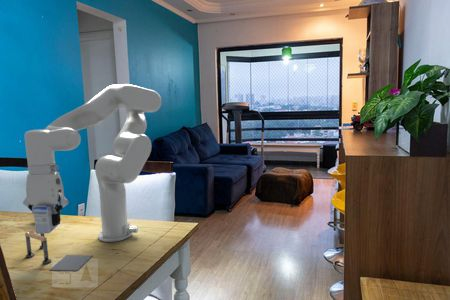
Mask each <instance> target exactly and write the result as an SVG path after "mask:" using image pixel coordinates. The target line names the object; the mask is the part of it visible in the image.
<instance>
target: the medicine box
mask: <svg viewBox="0 0 450 300" xmlns="http://www.w3.org/2000/svg"><path fill="white" fill-rule="evenodd" d="M55 207H56V206H55ZM33 212H34V215H33V219H34V228H35V230H36V232H35V234H37V235H40V234H43V233H44V234H50V233H52V232H53V230H56V228H57V227H58V226H59V225H60V224H61V222H60V223H59V224H58V225H56V226H53V225H52V214H53V212H52V209H51V206H50V205H36V206H35V207H34V208H33Z"/></svg>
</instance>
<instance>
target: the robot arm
mask: <svg viewBox="0 0 450 300" xmlns="http://www.w3.org/2000/svg"><path fill="white" fill-rule="evenodd" d="M161 106H162V97H161V95H160V94H159V93H158V92H157V91H156V90H153V89H150V88H146V87H141V86H138V85H133V84H130V83H123V84H119V83H118V84H111V85H109V86H107V87H106V88H104V89H103V90H101V91H100V92H99V93H98V94H96V95H95V96H94V97H92V98H91V99H90V100H88V101H87V102H86V103H84V104H82V105H81V106H78V107H76V108H75V109H73V110H71V111H69V112H67V113H65V114H63V115H61V116H59V117H58V118H56V119H55V120H53V121H52V122H51V123H50V124H48V125H47V126H46V127H44V129H32V130H31V129H30V130H28V131H26V132H25V133H24V143H25V152H26V160H27V161H26V162H27V171H28V173H27V175H26V182H25V186H26V189H25V191H26V197H25V198H24V200H23V201H22V204H23V205H24V206H25V207H27V208H28V209H29V211H31V213H32V215H33V214H34V212H33V208H34V207H35V206H36V205H50V206H51V209H52V212H53V214H52V225H53V226H56V225H58V224H59V223H60V224H61V211H62V210H63V209H64V208H65V207H66V206H68V204H70V203H69V200H68V199H67V197H65V193H64V191H65V190H64V186H63V181H62V178H61V175H60V172H59V171H57V170H59V169H60V165H57V163H56V160H55V159H56V157H55V152H56V151H57V152H58V151H62V152H63V151H64V152H66V151H72V150H74V149H77V148H78V147H79V145H80V144H81V139H82V138H81V135H80V133H79V131H81V130H83V129H88V128H92V127H95V126H97V125H100V124H102V123H103V122H105V121H106V120H107V119H108V118H109V117H111V116H112V115H113V114H115V112H117V111H118V110H120V108H124V109H125V112H126V120H125V122H124V124H123V126H122V128H121V130H119V133H118V134H117V136H116V137H115V139H114V141H113V143H112V151H113V152H114V154H116V155H103V156H101V157H100V158H99V159H98V160H97V161H96V164H95V167H94V171H95V176H96V180H97V184H98V192H99V204H100V205H99V206H100V219H101V220H100V221H101V231H100V232H99V233H98V236H97V237H98V240H99V241H101V242H106V243H114V242H119V241H123V240H126V239H128V238H130V237H131V236H132V235H133V234H135V233H136V234H137V233H138V232H139V228H138V226H137V225H131V222H130V221H128V212H127V211H128V210H127V208H128V207H127V193H126V192H127V191H126V185H125V184H131V183H133V182H134V181H135V180H136V179H137V178H138V176H139V175H140V173H141V171H142V170H143V168H144V167H145V164H146V163H147V161H148V158H149V157H150V155H151V152H152V141H151V139H150V137H149V136H148V135H147V134H145V133H146V130H147V126H148V124H147V123H148V122H147V120H146V119H147V118H146V115H145V113H155V112H157V111H159V109H160V108H161ZM60 202H61V203H60ZM55 206H56V207H55ZM60 224H59V225H60ZM59 225H58V226H59Z"/></svg>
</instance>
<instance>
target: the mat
mask: <svg viewBox="0 0 450 300" xmlns="http://www.w3.org/2000/svg"><path fill="white" fill-rule="evenodd" d="M92 257H93V255H87V254H86V255H84V254H81V255H78V254H66V255H65V256H64V257H62V258H61V259H60V260H59V261H58V262H56V263H55V264H54V265H53V266H52V267H51V268H49V271H51V272H52V271H54V272H55V271H56V272H60V271H61V272H78V271H80V269H82V267H84V265H85V264H86V263H87V262H88V261H89V260H90V259H91V258H92ZM73 270H75V271H73Z"/></svg>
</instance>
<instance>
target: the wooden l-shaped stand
mask: <svg viewBox="0 0 450 300" xmlns="http://www.w3.org/2000/svg"><path fill="white" fill-rule="evenodd" d="M24 233H25V234H24V235H25V242H26V243H25V244H26V252H27V254H25V259H31V258H33V257H35V256H34V255H35V254H34V253H33V252H32V244H31V243H32V242H31V239H35V240H37V241H40V243H41V245H40V246H39V249H40V250H43V259H44V260H42V265H49V264H50V263H52V260H51V259H50V258H49V250H48V239H47V237H46V236H45V233H43V234H37V233H36V230H35V227H33V228H32V229H29V230H28V231H26V232H24Z"/></svg>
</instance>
